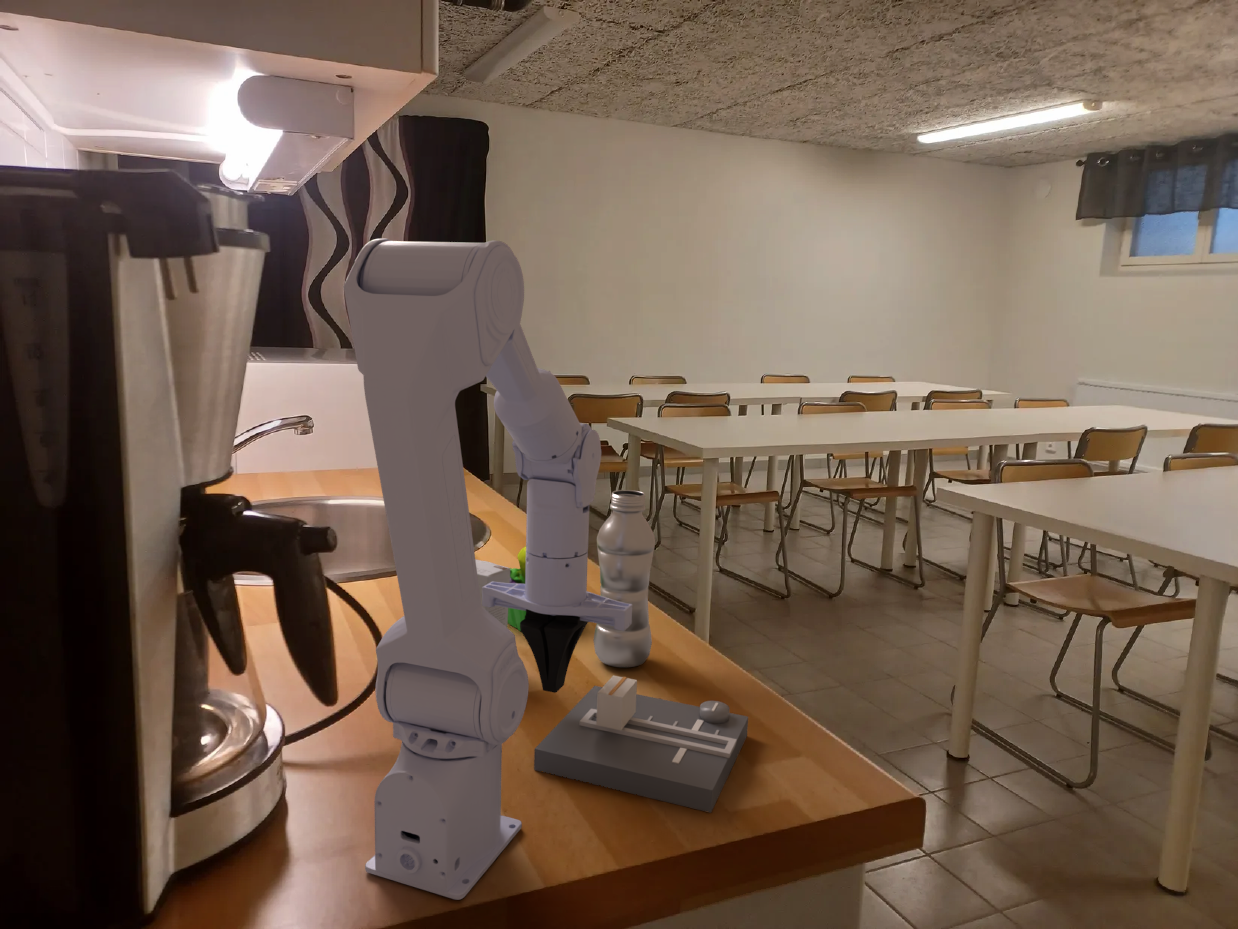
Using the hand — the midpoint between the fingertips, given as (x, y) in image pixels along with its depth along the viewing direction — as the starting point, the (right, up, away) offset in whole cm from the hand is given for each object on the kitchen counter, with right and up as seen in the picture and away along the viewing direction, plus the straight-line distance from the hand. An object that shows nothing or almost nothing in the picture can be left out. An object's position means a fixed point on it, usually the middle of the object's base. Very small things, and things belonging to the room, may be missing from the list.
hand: (553, 687), depth 82 cm
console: (+9, -5, -2) cm, 10 cm away
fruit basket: (-6, +1, +30) cm, 31 cm away
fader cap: (+6, -3, -2) cm, 7 cm away
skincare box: (-10, -2, +14) cm, 17 cm away
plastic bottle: (+7, -2, +17) cm, 19 cm away
